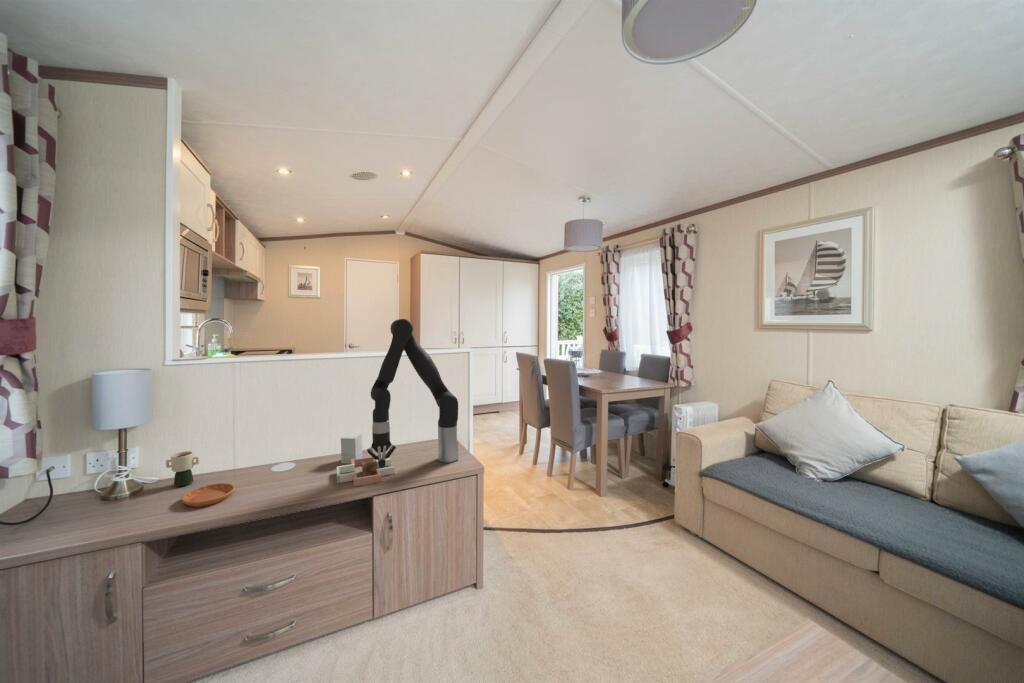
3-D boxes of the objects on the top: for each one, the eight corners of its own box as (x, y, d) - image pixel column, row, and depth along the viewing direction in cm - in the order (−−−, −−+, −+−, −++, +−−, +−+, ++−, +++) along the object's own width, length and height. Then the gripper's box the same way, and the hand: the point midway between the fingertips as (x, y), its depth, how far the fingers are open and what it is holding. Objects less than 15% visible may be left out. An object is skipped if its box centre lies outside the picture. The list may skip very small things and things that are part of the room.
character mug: (202, 478, 165) (201, 449, 164) (197, 485, 159) (195, 455, 158) (170, 483, 161) (169, 453, 160) (163, 490, 154) (161, 458, 154)
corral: (389, 459, 189) (388, 453, 188) (396, 479, 167) (396, 472, 167) (336, 467, 178) (336, 461, 178) (337, 489, 157) (337, 482, 156)
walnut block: (375, 469, 177) (375, 459, 177) (377, 474, 172) (377, 464, 171) (362, 471, 175) (361, 461, 174) (363, 476, 169) (363, 466, 169)
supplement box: (363, 458, 190) (362, 433, 189) (355, 464, 183) (355, 438, 182) (348, 457, 191) (348, 433, 190) (340, 463, 184) (340, 437, 183)
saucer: (242, 488, 157) (241, 481, 157) (221, 507, 142) (221, 499, 142) (197, 491, 154) (197, 484, 154) (171, 511, 138) (171, 503, 138)
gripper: (394, 426, 181) (395, 462, 182) (364, 429, 175) (365, 466, 176) (397, 430, 174) (398, 467, 175) (366, 434, 168) (367, 472, 169)
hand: (381, 467), depth 176 cm, fingers closed
